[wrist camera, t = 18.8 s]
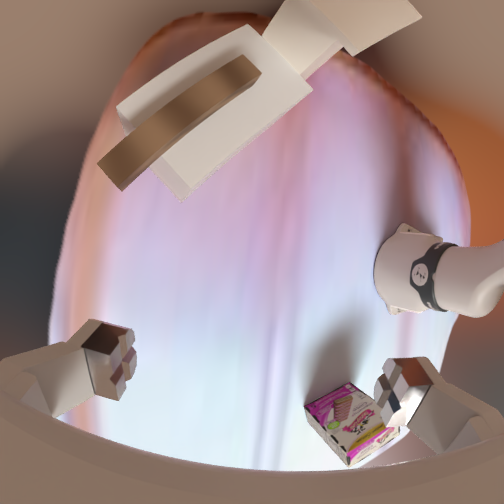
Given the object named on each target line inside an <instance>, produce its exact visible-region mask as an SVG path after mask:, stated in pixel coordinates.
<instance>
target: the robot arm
mask: <svg viewBox="0 0 504 504" xmlns="http://www.w3.org/2000/svg"><path fill="white" fill-rule="evenodd" d="M442 242H443V238H441V237H438V236H435V235H433V234H425V233H421V232H420V231H418V230H416V229H415V228H413V227H411V226H409V225H408V224H404V223H402V224H401V225H400V226H399V227H398V229H397V231H396V233H395V234H394V235H393V236H391V237H390V238H389V239H387V240H386V241H385V243H384V244H383V245H382V247H381V248H380V250H379V253H378V255H377V258H376V262H375V268H374V281H375V286H376V289H377V292H378V294H379V295H380V297H381V298H382V299H383V300H384V301H385V303H386V305H387V309H388V312H389V313H390V314H391V315H396V314H400V313H403V312H406V311H411V312H415V313H421V312H422V311H425V310H427V309H429V308H430V309H433V310H435V311H442V312H446V311H451V312H455V313H459V314H463V315H466V316H470V317H475V318H476V317H482V316H485V315H487V314H488V313H489V312H490V311H491V310H492V309H493V308H494V307H495V306H496V304H497V303H498V301H499V300H500V298H501V296H502V294H503V292H504V239H503V240H502V241H500V242H498V243H496V244H493V245H490V246H485V247H459V246H458V245H456V244H452V243H448V242H443V243H442ZM397 308H398V309H397ZM134 342H135V335H134V331H133V330H132V329H130V328H126V327H122V326H118V325H115V324H111V323H107V322H103V321H99V320H95V319H89V320H88V321H87V322H86V323H85V324H84V325H83V326H82V327H81V328H80V329H79V330H78V331H77V332H76V333H75V334H74V335H73V336H72V337H71V338H70V339H69V340H68V341H67V342H66V343H65V342H59V343H56V344H52V345H49V346H45V347H42V348H39V349H36V350H32V351H29V352H25V353H22V354H18V355H15V356H11V357H8V358H4V359H3V360H2V361H1V362H0V504H504V418H503V417H502V416H501V414H500V413H499V412H498V410H497V409H495V408H493V407H491V406H490V405H488V404H486V403H484V402H482V401H481V400H479V399H477V398H475V397H473V396H472V395H470V394H468V393H466V392H464V391H463V390H461V389H459V388H457V387H455V386H453V385H452V384H450V383H447V384H446V382H445V381H444V380H443V378H442V377H441V375H440V374H439V373H438V371H437V370H436V368H435V367H434V366H433V364H432V363H431V362H430V360H429V359H428V358H426V357H413V358H388V359H387V360H386V361H385V363H384V365H383V368H382V369H383V372H384V374H382V375H381V376H380V377H379V378H378V379H377V381H376V384H375V386H374V399H375V402H376V404H377V405H378V406H379V407H381V408H382V410H381V413H380V415H381V417H382V420H383V422H384V424H385V427H397V426H407V427H408V428H409V429H410V430H411V431H412V432H413V433H414V434H416V435H417V436H418V437H419V438H420V439H421V440H422V441H423V442H424V443H426V444H427V445H428V446H429V447H430V448H431V449H432V450H433V451H435V452H436V453H437V454H438V455H434V456H430V457H426V458H421V459H417V460H411V461H406V462H401V463H395V464H389V465H383V466H376V467H368V468H358V469H347V470H332V471H268V470H253V469H242V468H233V467H225V466H217V465H210V464H204V463H198V462H192V461H187V460H182V459H177V458H173V457H168V456H164V455H160V454H155V453H152V452H148V451H144V450H140V449H137V448H133V447H130V446H127V445H123V444H120V443H117V442H114V441H111V440H108V439H105V438H102V437H100V436H97V435H94V434H91V433H89V432H86V431H84V430H81V429H79V428H76V427H74V426H71V425H69V424H67V423H64V422H62V421H60V420H58V419H56V417H58V416H60V415H62V414H64V413H65V412H67V411H69V410H71V409H72V408H74V407H76V406H78V405H79V404H81V403H83V402H85V401H86V400H88V399H90V398H91V397H93V396H95V394H96V395H99V396H102V397H106V398H109V399H113V400H116V401H119V400H120V398H121V396H122V394H123V393H124V391H125V389H126V383H125V381H128V380H130V379H131V378H132V376H133V374H134V372H135V368H136V363H137V355H136V351H135V350H134V348H133V347H132V345H133V343H134Z"/></svg>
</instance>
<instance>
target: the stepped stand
mask: <svg viewBox="0 0 504 504" xmlns="http://www.w3.org/2000/svg"><path fill="white" fill-rule="evenodd" d="M421 18H422V16H421V15H420V14H419V12H418V11H417V10H416V9H415V8H414V7H413V6H412V4H411V3H410V2H409V1H408V0H285V1H284V2H283V4H282V5H281V7H280V9H279V10H278V11H277V13H276V14H275V16H274V17H273V19H272V20H271V22H270V23H269V25H268V27H267V28H266V30H265V31H264V33H263V34H262V36H261V35H260V34H259V33H257V32H256V31H255V30H254V29H253V28H252V27H251V26H250V25H249V24H247V25H244V26H242V27H240V28H238V29H236V30H234V31H232V32H230V33H228V34H226V35H224V36H222V37H220V38H219V39H217V40H215V41H213V42H211V43H209V44H208V45H206V46H204V47H202V48H200V49H199V50H197V51H195V52H194V53H192V54H190V55H189V56H187V57H185V58H184V59H182V60H180V61H179V62H177V63H176V64H174V65H173V66H171V67H170V68H168V69H166V70H165V71H163V72H162V73H161V74H159V75H158V76H156V77H155V78H153V79H152V80H150V81H149V82H148V83H146V84H145V85H143V86H142V87H141V88H139V89H138V90H137V91H135V92H134V93H133V94H131V95H130V96H129V97H127V98H126V99H125V100H124V101H122V102H121V103H120V104H119V105H117V106H116V108H117V112H118V115H119V118H120V121H121V124H122V127H123V129H124V132H125V135H126V136H128V135H129V134H130V133H131V132H132V131H133V130H135V129H136V128H137V127H138V126H139V125H141V124H142V123H143V122H144V121H146V120H147V119H148V118H149V117H151V116H152V115H153V114H154V113H156V112H157V111H158V110H160V109H161V108H162V107H163V106H165V105H166V104H167V103H169V102H170V101H171V100H173V99H174V98H176V97H177V96H178V95H180V94H181V93H183V92H184V91H185V90H187V89H188V88H190V87H191V86H193V85H194V84H196V83H197V82H199V81H200V80H202V79H203V78H205V77H206V76H208V75H209V74H211V73H212V72H214V71H215V70H217V69H219V68H220V67H222V66H224V65H225V64H227V63H228V62H230V61H232V60H234V59H235V58H237V57H239V56H240V55H242V54H243V55H244V56H245V57H246V58H247V59H248V60H250V61H251V62H252V63H253V64H254V65H255V66H256V67H257V68H258V69H259V70H260V71H261V73H262V74H261V76H260V77H259V78H258V80H257V81H256V82H255V84H254V85H253V86H252V87H250V88H249V89H247V90H246V91H244V92H243V93H241V94H240V95H239V96H237V97H236V98H234V99H233V100H231V101H230V102H229V103H227V104H226V105H224V106H223V107H222V108H220V109H219V110H218V111H216V112H215V113H214V114H212V115H211V116H210V117H208V118H207V119H206V120H204V121H203V122H202V123H200V124H199V125H198V126H197V127H195V128H194V129H193V130H192V131H190V132H189V133H188V134H187V135H185V136H184V137H183V138H182V139H180V140H179V141H178V142H177V143H176V144H174V145H173V146H172V147H171V148H170V149H168V150H167V151H166V152H165V153H164V154H163V155H161V156H160V157H159V158H158V159H157V160H156V161H155V162H153V163H152V164H151V165H150V166H149V168H150V170H151V171H152V172H153V173H154V174H155V175H156V176H157V177H158V178H159V179H160V180H161V182H162V183H163V184H164V185H165V186H166V187H167V188H168V189H169V190H170V191H171V192H172V194H173V195H174V196H175V197H176V198H177V199H178V200H179V201H180V202H181V203H182V202H183V201H184V200H185V199H186V198H188V197H189V196H190V195H191V194H192V193H193V192H194V191H195V190H196V189H197V188H198V187H200V186H201V185H202V184H203V183H204V182H205V181H206V180H207V179H208V178H210V177H211V176H212V175H213V174H214V173H215V172H216V171H218V170H219V169H220V168H221V167H222V166H223V165H224V164H226V163H227V162H228V161H229V160H230V159H231V158H233V157H234V156H235V155H236V154H237V153H239V152H240V151H241V150H242V149H243V148H245V147H246V146H247V145H248V144H249V143H251V142H252V141H253V140H254V139H256V138H257V137H258V136H259V135H260V134H262V133H263V132H264V131H265V130H267V129H268V128H269V127H270V126H272V125H273V124H274V123H275V122H276V121H277V120H278V119H280V118H281V117H282V116H283V115H284V114H285V113H287V112H288V111H289V110H290V109H291V108H292V107H294V106H295V105H296V104H297V103H298V102H300V101H301V100H302V99H303V98H304V97H306V96H307V95H308V94H309V93H310V92H312V91H313V89H312V88H311V87H310V85H309V84H308V83H307V82H306V81H305V80H306V79H307V78H308V77H309V76H310V75H311V74H312V73H314V72H315V71H316V70H317V69H318V68H319V67H320V66H321V65H323V64H324V63H325V62H326V61H327V60H328V59H329V58H331V57H332V56H333V55H334V54H335V53H336V52H338V51H339V50H340V49H341V48H342V47H344V48H345V49H346V50H347V51H348V52H349V53H350V54H351V56H352V57H353V56H354V55H356V54H357V53H359V52H361V51H363V50H364V49H366V48H368V47H369V46H371V45H373V44H375V43H376V42H378V41H380V40H382V39H383V38H385V37H387V36H389V35H391V34H393V33H394V32H396V31H398V30H400V29H402V28H404V27H406V26H408V25H410V24H411V23H413V22H415V21H417V20H419V19H421Z"/></svg>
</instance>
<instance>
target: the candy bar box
mask: <svg viewBox="0 0 504 504" xmlns="http://www.w3.org/2000/svg"><path fill="white" fill-rule="evenodd" d="M304 409H305V412H306V416H307V420H308V423H309V424H310V425H311V426H312V427H313V428H314V429H315V431H316V432H317V433H318V434H319V435H320V436H321V437H322V439H323V440H324V441H325V442H326V443H327V444H328V445H329V446H330V448H331V449H332V450H333V451H334V452H335V453H336V454H337V455H338V456H339V458H340V459H341V460H342V461H343V462H344V463H345V464H346V465H347V466H348V467H351V466H353V465H354V464H356V463H358V462H359V461H361V460H362V459H364V458H366V457H367V456H369V455H370V454H372V453H373V452H375V451H376V450H378V449H379V448H381V447H382V446H384V445H385V444H387V443H388V442H390V441H391V440H393V439H394V438H395V437H397V436H398V435H399V434H400V426H397V427H385V424H384V422H383V420H382V417H381V415H380V413H381V410H382V408H381V407H379V406H378V405H377V404H376V402H375V400H373V399H372V398H371V397H369V396H368V395H367V394H365V393H364V392H363V391H361V390H360V389H358V388H357V387H356V386H354V385H353V384H352V383H350V382H349V383H347V384H345V385H344V386H342V387H340V388H338V389H337V390H335V391H333V392H331V393H329V394H327V395H326V396H324V397H322V398H320V399H318V400H316V401H314V402H312V403H310V404H308V405H306V406H304Z"/></svg>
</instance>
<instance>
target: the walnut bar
mask: <svg viewBox="0 0 504 504" xmlns="http://www.w3.org/2000/svg"><path fill="white" fill-rule="evenodd" d="M261 74H262V73H261V71H260V70H259V69H258V68H257V67H256V66H255V65H254V64H253V63H252V62H251V61H250V60H248V59H247V58H246V57H245V56H244V55H243V54H242V55H240V56H239V57H237V58H235V59H234V60H232V61H230V62H228V63H227V64H225V65H224V66H222V67H220V68H219V69H217V70H215V71H214V72H212V73H211V74H209V75H208V76H206V77H205V78H203V79H202V80H200V81H199V82H197V83H196V84H194V85H193V86H191V87H190V88H188V89H187V90H185V91H184V92H183V93H181V94H180V95H178V96H177V97H176V98H174V99H173V100H171V101H170V102H169V103H167V104H166V105H165V106H163V107H162V108H161V109H160V110H158V111H157V112H156V113H154V114H153V115H152V116H151V117H149V118H148V119H147V120H146V121H144V122H143V123H142V124H141V125H139V126H138V127H137V128H136V129H135V130H133V131H132V132H131V133H130V134H129V135H128V136H126V137H125V138H124V139H123V140H122V141H121V142H120V143H118V144H117V145H116V146H115V147H114V148H113V149H112V150H111V151H110V152H109V153H107V154H106V155H105V156H104V157H103V158H102V159H101V160H100V161H99V162H98V163H97V164H98V166H99V167H100V168H101V169H102V170H103V171H104V173H105V174H106V175H107V176H108V177H109V178H110V179H111V181H112V182H113V183H114V184H115V185H116V186H117V187H118V188H119V189H120V190H121V191H123V190H124V189H125V188H126V187H127V186H128V185H129V184H131V183H132V182H133V181H134V180H135V179H136V178H137V177H138V176H139V175H140V174H141V173H142V172H143V171H145V170H146V169H147V168H148V167H149V166H150V165H151V164H152V163H153V162H155V161H156V160H157V159H158V158H159V157H160V156H161V155H163V154H164V153H165V152H166V151H167V150H168V149H170V148H171V147H172V146H173V145H174V144H176V143H177V142H178V141H179V140H180V139H182V138H183V137H184V136H185V135H187V134H188V133H189V132H190V131H192V130H193V129H194V128H195V127H197V126H198V125H199V124H200V123H202V122H203V121H204V120H206V119H207V118H208V117H210V116H211V115H212V114H214V113H215V112H216V111H218V110H219V109H220V108H222V107H223V106H224V105H226V104H227V103H229V102H230V101H231V100H233V99H234V98H236V97H237V96H239V95H240V94H241V93H243V92H244V91H246V90H247V89H249V88H250V87H252V86H253V85H254V84H255V82H256V81H257V80H258V78H259V77H260V76H261Z"/></svg>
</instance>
